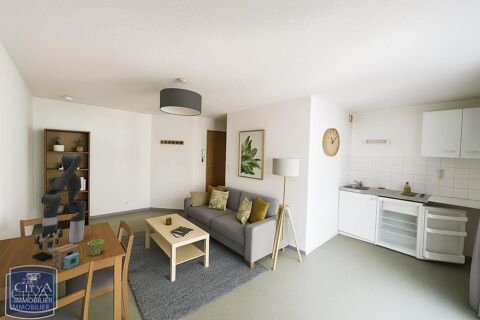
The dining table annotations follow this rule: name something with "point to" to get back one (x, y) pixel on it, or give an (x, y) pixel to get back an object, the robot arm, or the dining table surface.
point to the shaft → (50, 246)
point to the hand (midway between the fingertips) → (48, 246)
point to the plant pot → (95, 247)
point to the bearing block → (63, 254)
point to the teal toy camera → (74, 263)
